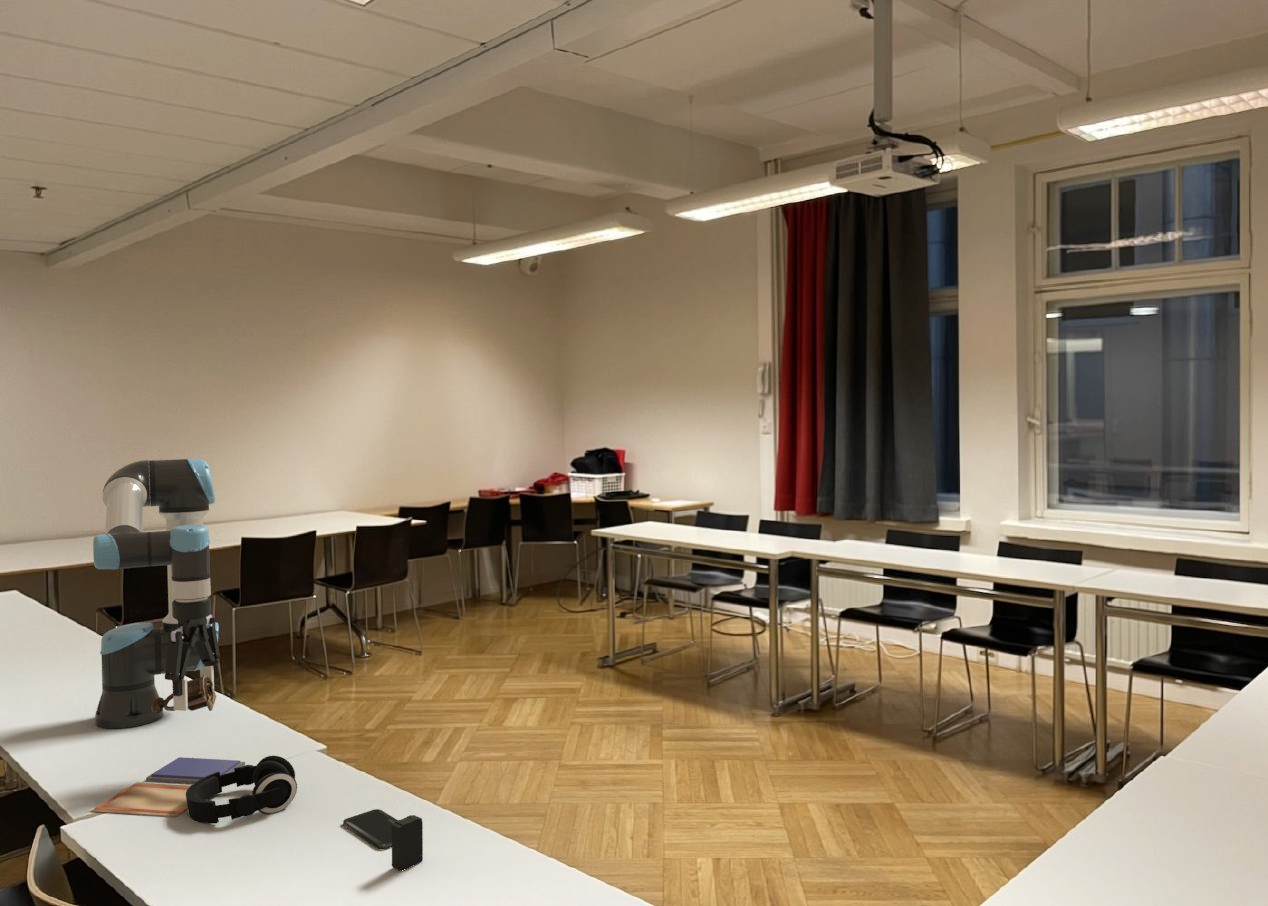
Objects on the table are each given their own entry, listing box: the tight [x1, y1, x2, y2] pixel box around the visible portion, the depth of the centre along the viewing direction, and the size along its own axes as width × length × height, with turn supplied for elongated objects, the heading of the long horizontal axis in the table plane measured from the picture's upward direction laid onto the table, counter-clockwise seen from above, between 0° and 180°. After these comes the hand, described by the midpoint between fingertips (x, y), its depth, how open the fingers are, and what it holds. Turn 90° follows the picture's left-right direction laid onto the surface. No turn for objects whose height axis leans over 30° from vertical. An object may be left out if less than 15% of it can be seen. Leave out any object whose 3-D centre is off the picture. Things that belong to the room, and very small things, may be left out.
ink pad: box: [145, 756, 246, 785], centre depth 208 cm, size 11×16×1 cm
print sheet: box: [90, 782, 191, 818], centre depth 194 cm, size 14×18×1 cm
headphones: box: [186, 755, 298, 824], centre depth 191 cm, size 18×8×20 cm
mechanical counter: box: [151, 676, 217, 714], centre depth 207 cm, size 7×13×10 cm
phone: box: [342, 808, 399, 850], centre depth 180 cm, size 8×1×15 cm
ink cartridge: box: [391, 814, 424, 872], centre depth 167 cm, size 5×2×8 cm, turn 141°
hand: (194, 702), depth 207 cm, fingers closed on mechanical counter, 9 cm apart
